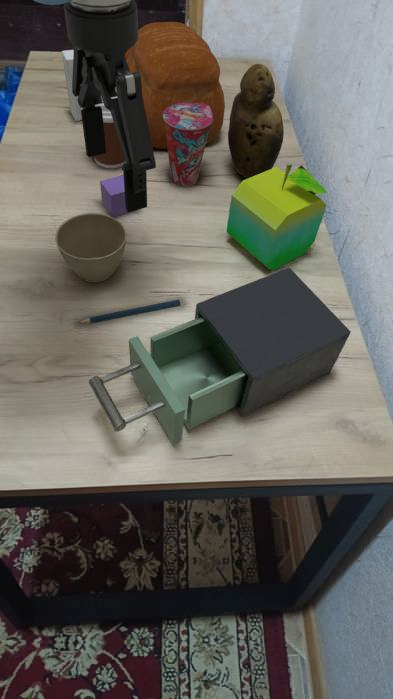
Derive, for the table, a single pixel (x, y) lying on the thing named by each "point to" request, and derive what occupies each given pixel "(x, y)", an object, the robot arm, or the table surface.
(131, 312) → the pencil
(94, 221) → the flower pot
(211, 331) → the green drawer
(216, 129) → the bread
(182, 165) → the cup
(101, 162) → the coffee cup
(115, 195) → the purple cube
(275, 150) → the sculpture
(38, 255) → the table surface
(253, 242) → the apple
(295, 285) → the charcoal drawer box
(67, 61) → the cosmetic box
